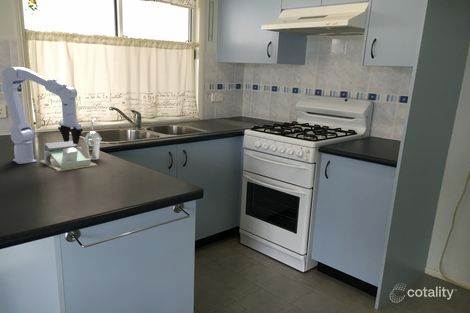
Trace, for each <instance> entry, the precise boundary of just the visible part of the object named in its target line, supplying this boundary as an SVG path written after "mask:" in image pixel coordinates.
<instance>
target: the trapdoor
mask: <svg viewBox="0 0 470 313" xmlns="http://www.w3.org/2000/svg"><path fill="white" fill-rule="evenodd" d="M77 147H78V144H73V140H69V141H68V142H64V141H55V142H47V143H44V151H49V152H50V158H52V159H54V160H55V161H56V162H57V163H58V165H59V166H60V167H61V168H68V167H75V166H81V165H88V164H90V162H91V159H90V158H89V157H88V158H87V157H85V156H84V154H83V155H82V154H81V153H80V151H79V150H78V149H77ZM67 148H75V149H76V150H77V151H78V154H77V160H74V161H67V162H64V161H63V160H62V157H63V149H67Z"/></svg>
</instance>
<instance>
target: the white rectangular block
mask: <svg viewBox="0 0 470 313" xmlns="http://www.w3.org/2000/svg"><path fill="white" fill-rule="evenodd" d="M77 154H78V151H77V150H76V149H75V148H67V149H63V157H62V160H63V161H64V162H67V161H74V160H77Z"/></svg>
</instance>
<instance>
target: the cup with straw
mask: <svg viewBox="0 0 470 313" xmlns="http://www.w3.org/2000/svg"><path fill="white" fill-rule="evenodd" d="M96 120H97V117H94V119H93V120H91V131H89V132H87V133H86V134H85V137H84V138H83V141H84V142H85V145H86V147H87V148H86V149H87V155H88V158H90V159H91V160H94V161H95V160H98V159H99V158H100V157H99V156H100V145H101V141H102V140H103V138H102V137H101V136H100V134H99V133H98V132H97V131H94V122H95V121H96ZM91 160H90V161H91Z"/></svg>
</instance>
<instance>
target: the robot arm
mask: <svg viewBox="0 0 470 313" xmlns="http://www.w3.org/2000/svg"><path fill="white" fill-rule="evenodd" d="M1 76H2V84H1V87H2V92H3V94H4V97H5V100H6V104H7V108H8V112H9V114H10V118H11V121H12V122H11V123H12V125H11V127H10V139H11V141H12V142H13V143H14V147H13V152H14V153H13V154H14V159H12V161H13V162H15V163H17V164H18V165H19V164H20V165H22V164H29V163H36V162H38V160H37V159H35V157H34V147H33V146H34V145H33V142H34V139H35V138H36V133H35V130H34V129H33V128H32V126H31V124H30V123H28V122H27V120H26V117H25V113H24V112H25V111H24V110H23V105H22V102H21V99H20V95H19V92H18V88H19V86H20V85H21V84H23V83H24V82H25V81H26V80H29V81H32V82H34V83H36V84H38V85H41V86H42V87H44V88H45V90H46V91H47V92H49V93H52V94H53V95H55V96H58V97H59V98H60V100H61V112H62V120H61V121H59V122H58V123H59V124H58V125H59V126H58V127H57V128H58V129H57V130H59V132H60V134H61V137H62V140H63V142H68V141H70V135H71V138H72V139H71V141H73V144H76V145H79V141H80V138H81V135H82V133H83V128H82V124H80V123H79V122H78V121H77V107H76V106H77V105H76V98H77V96H78V91H77V89H76V88H75V87H74V86H67V84H66V83H61V82H59V81H58V79H56V78H49V79H47V78H45V77H44V76H43V75H40V74H39V73H37V72H35V71H33V70H31V69H30V68H27V67H24V66H6V67H4V69H3V70H2V72H1Z"/></svg>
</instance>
